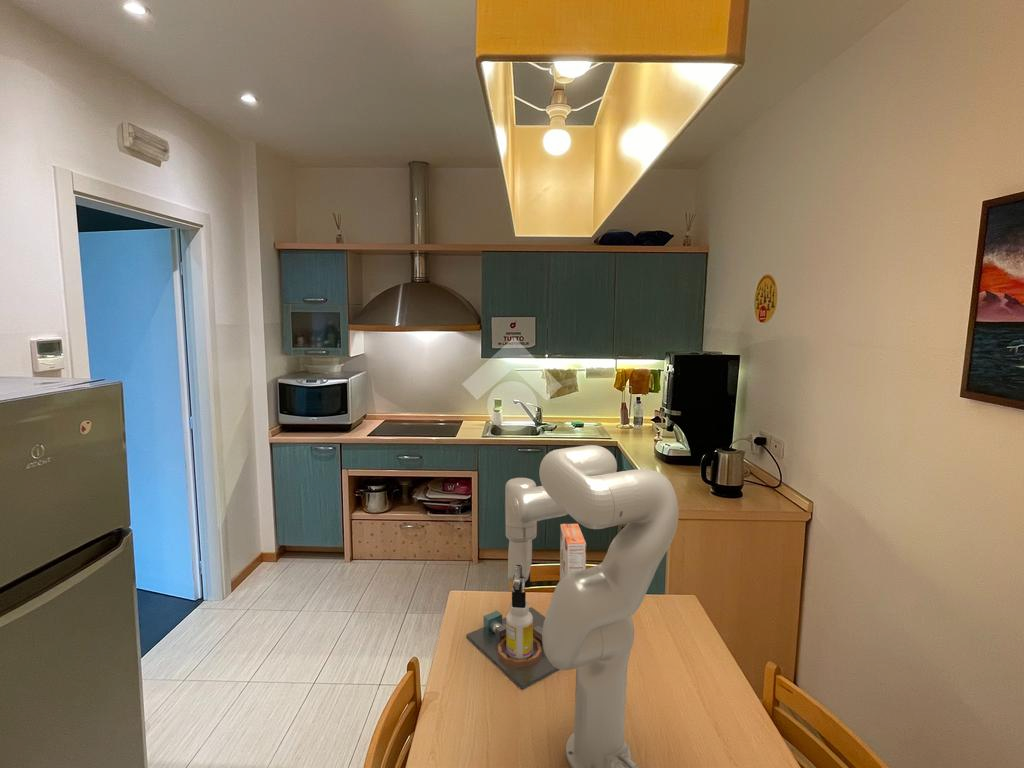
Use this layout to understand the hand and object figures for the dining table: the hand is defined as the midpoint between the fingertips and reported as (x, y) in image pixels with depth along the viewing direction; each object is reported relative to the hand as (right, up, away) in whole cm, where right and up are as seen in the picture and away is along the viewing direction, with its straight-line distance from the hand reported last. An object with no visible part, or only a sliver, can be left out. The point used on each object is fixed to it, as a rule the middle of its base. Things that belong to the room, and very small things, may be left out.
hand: (521, 596), depth 130 cm
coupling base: (+2, -15, +7) cm, 17 cm away
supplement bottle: (0, -15, +3) cm, 15 cm away
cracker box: (+16, -13, +30) cm, 36 cm away
